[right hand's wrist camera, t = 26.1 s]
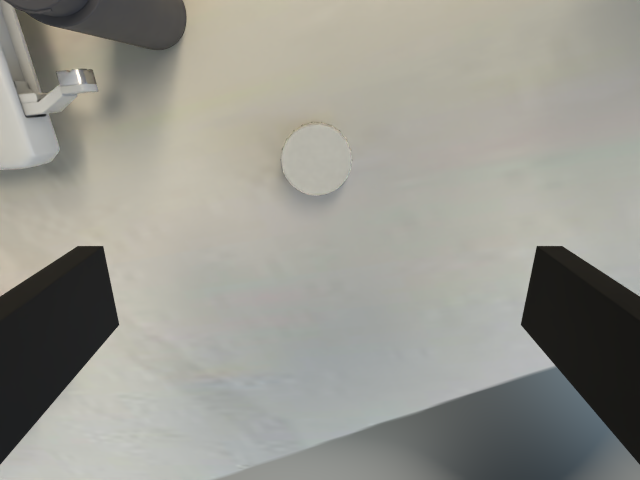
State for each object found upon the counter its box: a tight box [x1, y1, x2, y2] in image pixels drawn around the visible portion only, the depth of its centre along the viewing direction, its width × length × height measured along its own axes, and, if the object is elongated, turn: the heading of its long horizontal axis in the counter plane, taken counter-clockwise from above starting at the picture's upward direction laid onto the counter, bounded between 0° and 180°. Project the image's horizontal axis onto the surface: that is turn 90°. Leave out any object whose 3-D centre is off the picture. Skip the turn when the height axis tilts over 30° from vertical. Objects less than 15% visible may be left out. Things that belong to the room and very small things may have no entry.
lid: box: [281, 122, 352, 195], centre depth 36 cm, size 6×6×2 cm
